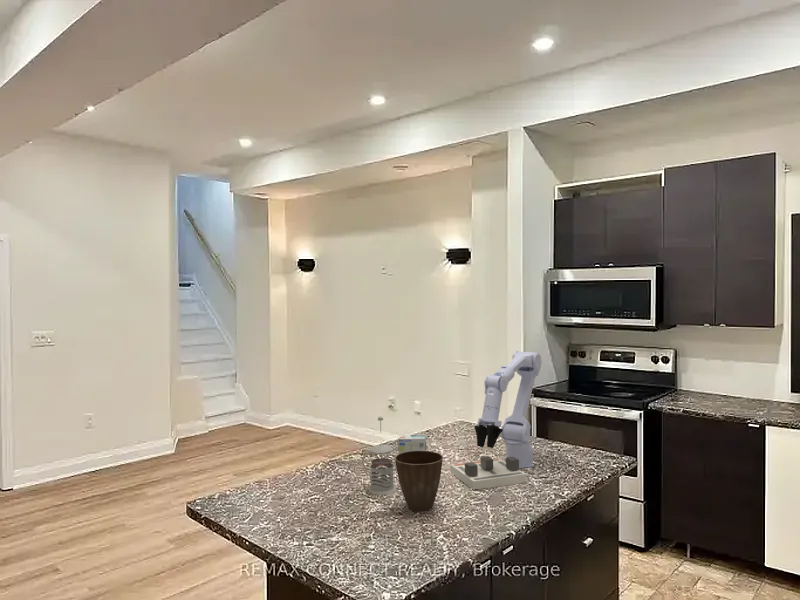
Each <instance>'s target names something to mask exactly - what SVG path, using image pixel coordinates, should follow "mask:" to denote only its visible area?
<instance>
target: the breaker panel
mask: <svg viewBox="0 0 800 600" xmlns="http://www.w3.org/2000/svg"><path fill="white" fill-rule="evenodd" d="M492 459H493V469H492V470H484V469H483V468H481V460H476V461H475V460H474V461H468V462H459V463H452V464H450V465H449V466H450V467H449V470H450V472H451V473H450V474H452V475H453V476H454V475H455V476H454V477H455V478H457V479H459V480H460V481H461V482H462V483H463V482H464V484H465V485H466V484H467V485H468V487H469V488H470V487H471V488H472V490H473V491H476V490H475V489H478V490H484V489H483V488H485V489H490V488H491V487H492V488H497V486H499V487H504V486H505V485H506V486H511V485H512V484H513V485H519V484H524V483H525V484H526V483H527V473H526V472H524V471H522V470H520V468H519V460H518V459H517V458H515V457H507V458H506V457H505V460H503V459H502V458H499V457H498V458H492ZM467 485H466V486H467ZM471 488H470V489H471Z"/></svg>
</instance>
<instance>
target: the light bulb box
mask: <svg viewBox="0 0 800 600" xmlns="http://www.w3.org/2000/svg"><path fill="white" fill-rule="evenodd" d="M397 445H398V446H397V448H398V449H397V450H398V454H401V453H404V452H409V451H428V450H427V449H428V448H427V434H399V436H398V438H397Z"/></svg>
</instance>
